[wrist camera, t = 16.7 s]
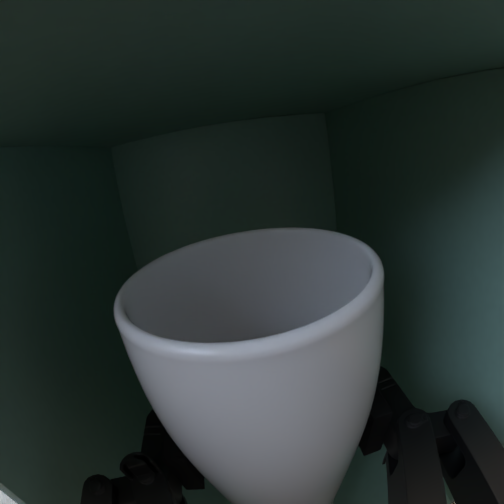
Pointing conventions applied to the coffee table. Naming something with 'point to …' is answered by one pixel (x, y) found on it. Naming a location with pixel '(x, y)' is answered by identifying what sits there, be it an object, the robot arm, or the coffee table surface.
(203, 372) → the drinking glass
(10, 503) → the coffee table surface
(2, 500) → the coffee table surface
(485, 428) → the robot arm
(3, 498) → the coffee table surface
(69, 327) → the box
